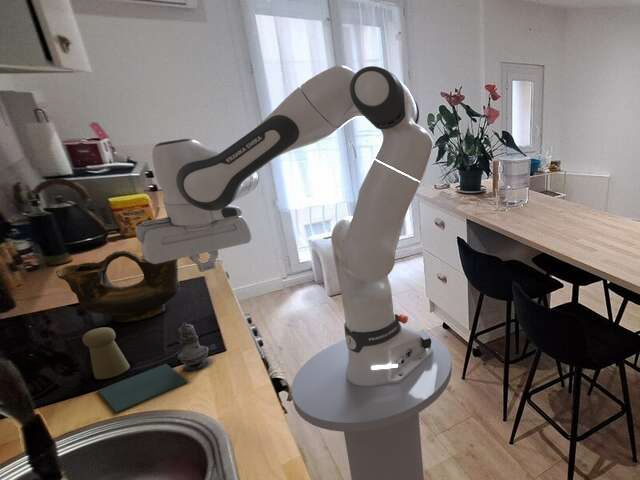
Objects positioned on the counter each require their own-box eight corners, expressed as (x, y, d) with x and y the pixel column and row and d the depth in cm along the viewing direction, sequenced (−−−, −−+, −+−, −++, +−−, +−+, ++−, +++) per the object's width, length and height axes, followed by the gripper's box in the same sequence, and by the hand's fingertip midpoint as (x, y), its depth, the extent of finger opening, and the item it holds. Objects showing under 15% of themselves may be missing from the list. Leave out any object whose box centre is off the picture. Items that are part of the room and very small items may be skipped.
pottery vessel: (76, 336, 109) (47, 268, 102) (79, 320, 117) (53, 255, 110) (194, 309, 125) (176, 248, 118) (191, 296, 132) (174, 238, 126)
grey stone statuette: (175, 373, 96) (161, 329, 92) (190, 359, 101) (176, 316, 97) (204, 371, 97) (191, 327, 93) (216, 357, 103) (205, 315, 98)
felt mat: (166, 364, 99) (166, 363, 99) (187, 382, 93) (187, 381, 93) (98, 391, 90) (97, 390, 89) (116, 413, 84) (116, 411, 84)
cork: (94, 370, 96) (78, 329, 92) (129, 360, 100) (115, 321, 96) (93, 382, 92) (76, 340, 88) (130, 372, 96) (115, 331, 92)
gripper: (137, 225, 82) (157, 287, 87) (248, 207, 99) (259, 260, 103) (126, 220, 85) (146, 280, 90) (235, 203, 102) (247, 255, 107)
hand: (207, 269), depth 97 cm, fingers closed
